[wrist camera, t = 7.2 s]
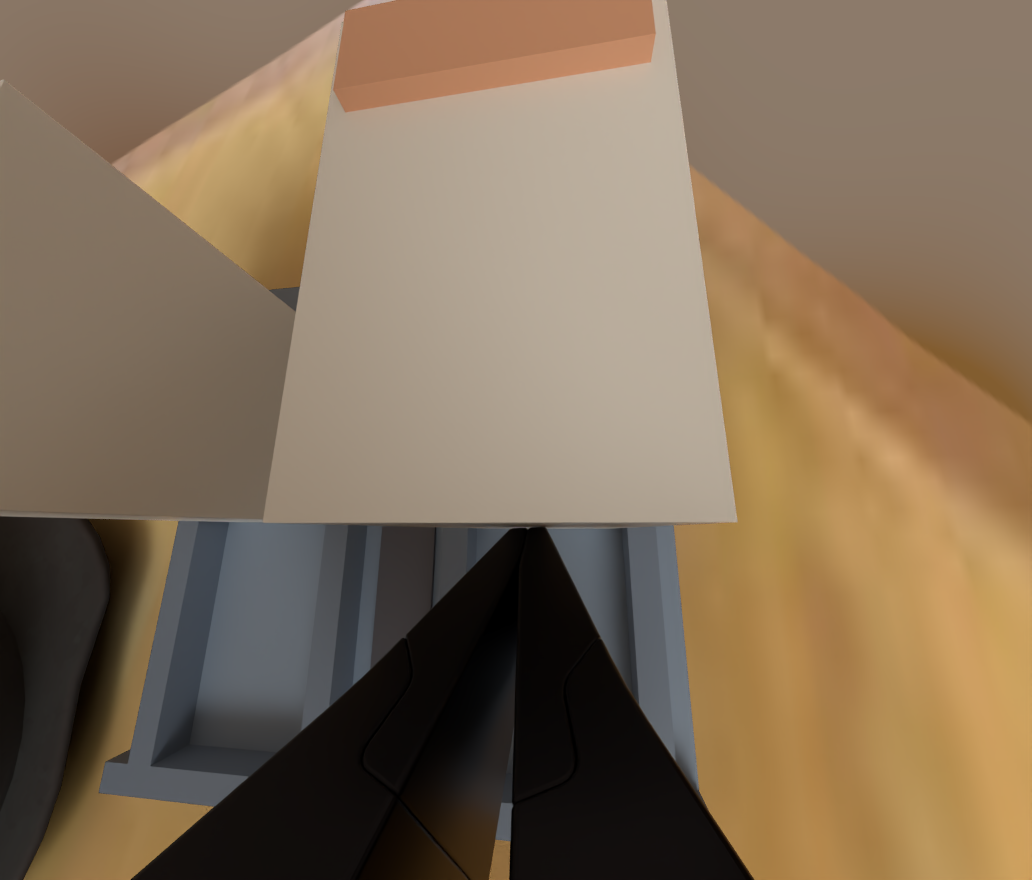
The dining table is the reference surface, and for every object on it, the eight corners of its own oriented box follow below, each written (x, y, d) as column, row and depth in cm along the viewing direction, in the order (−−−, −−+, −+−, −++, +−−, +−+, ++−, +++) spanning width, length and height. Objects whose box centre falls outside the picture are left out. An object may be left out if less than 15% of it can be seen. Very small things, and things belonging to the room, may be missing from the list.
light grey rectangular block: (488, 528, 16) (239, 522, 4) (491, 354, 18) (330, -4, 6) (609, 528, 15) (752, 520, 3) (599, 348, 17) (665, -74, 5)
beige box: (237, 522, 17) (-463, 504, 6) (264, 364, 19) (-216, 103, 8) (336, 521, 17) (-227, 501, 5) (354, 358, 19) (-20, 60, 7)
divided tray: (167, 754, 16) (63, 812, 13) (247, 334, 21) (186, 297, 18) (692, 805, 13) (734, 897, 10) (646, 302, 18) (663, 251, 15)
